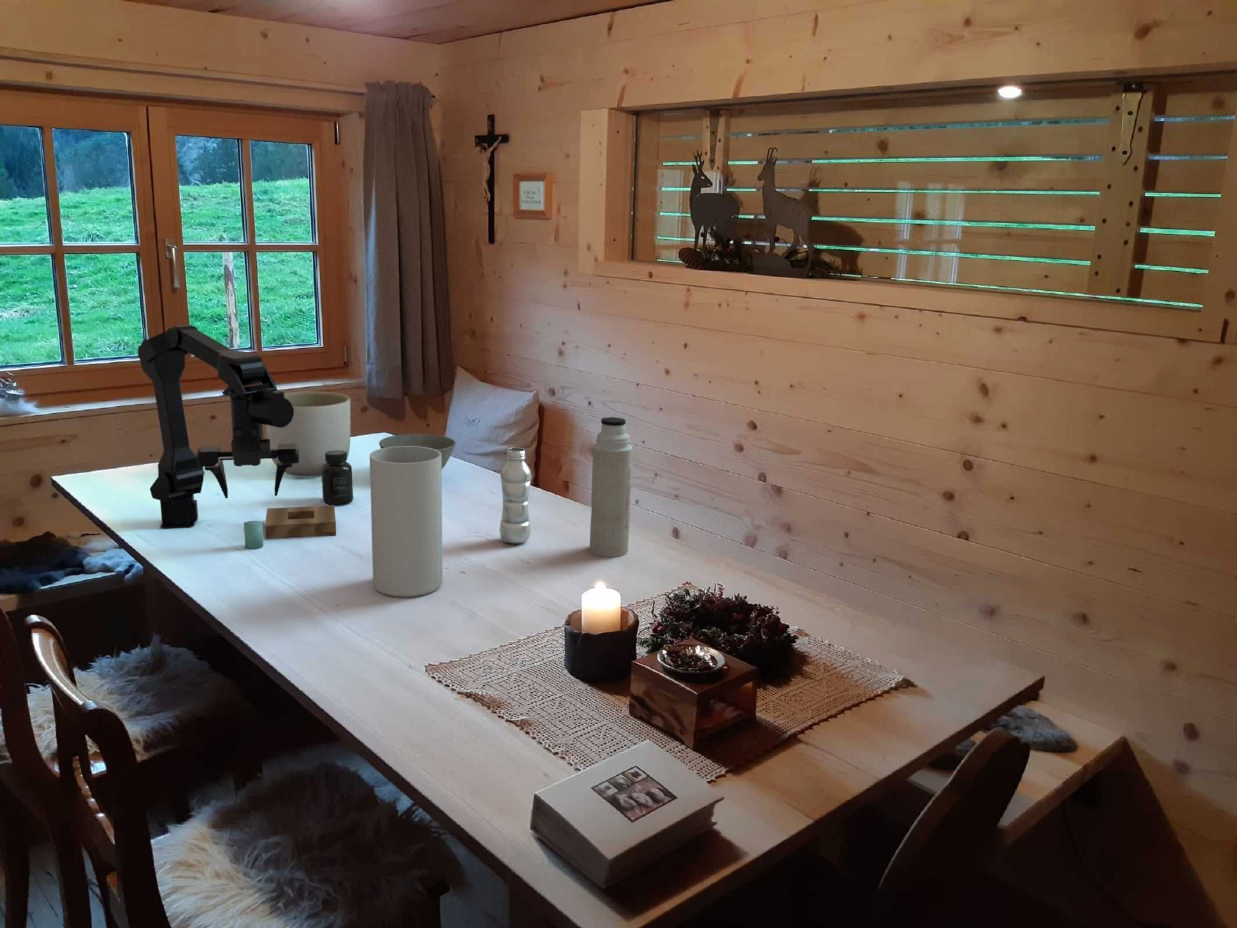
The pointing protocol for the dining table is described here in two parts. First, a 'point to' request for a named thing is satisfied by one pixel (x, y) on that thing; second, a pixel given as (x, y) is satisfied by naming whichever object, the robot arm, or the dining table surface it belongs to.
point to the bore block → (300, 522)
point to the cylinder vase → (406, 520)
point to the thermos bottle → (611, 489)
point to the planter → (314, 429)
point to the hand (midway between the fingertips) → (251, 496)
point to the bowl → (422, 443)
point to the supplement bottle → (337, 479)
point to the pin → (253, 535)
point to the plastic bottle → (515, 497)
